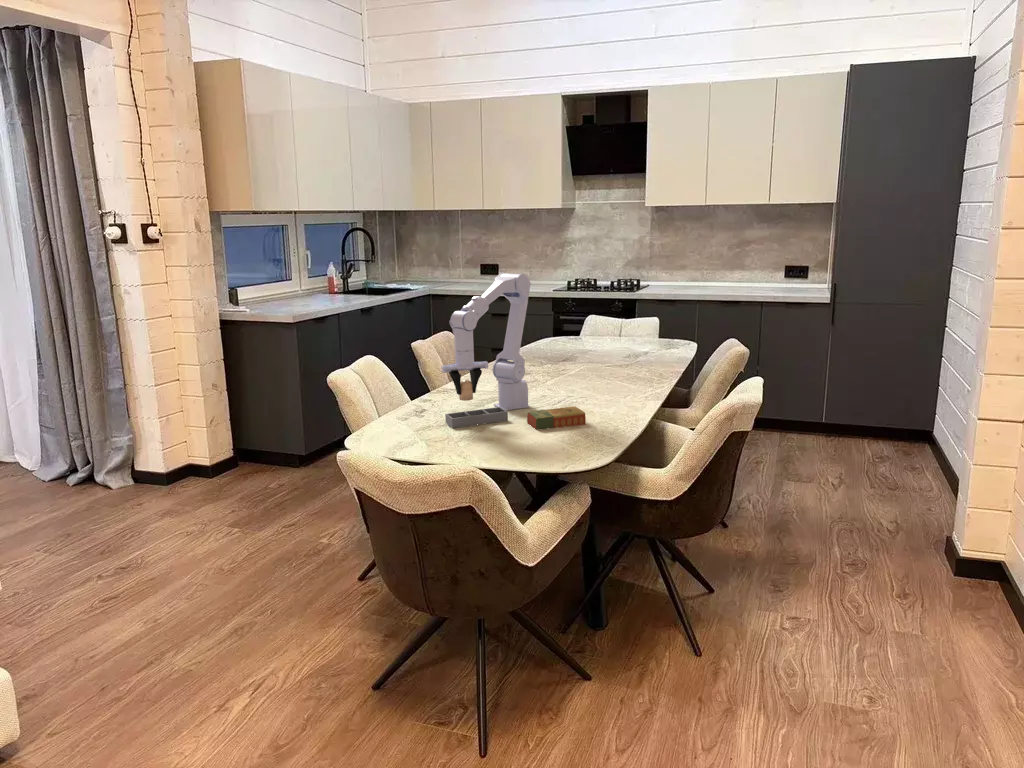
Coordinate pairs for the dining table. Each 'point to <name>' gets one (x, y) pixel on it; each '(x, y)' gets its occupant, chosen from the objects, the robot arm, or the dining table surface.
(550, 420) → the carton
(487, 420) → the egg holder
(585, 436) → the dining table surface
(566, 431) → the dining table surface
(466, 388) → the egg
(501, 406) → the robot arm
